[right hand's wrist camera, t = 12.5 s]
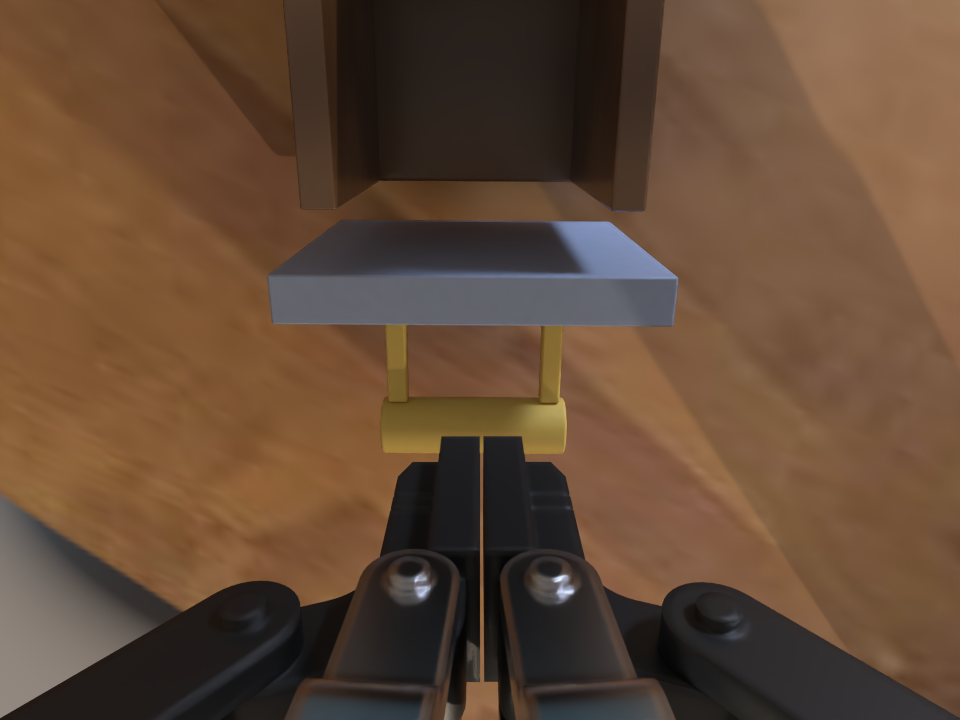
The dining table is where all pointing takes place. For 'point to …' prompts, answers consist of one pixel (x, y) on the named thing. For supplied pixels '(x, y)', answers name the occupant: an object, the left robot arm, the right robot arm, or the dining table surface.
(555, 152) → the drawer
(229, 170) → the dining table surface
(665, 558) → the dining table surface
